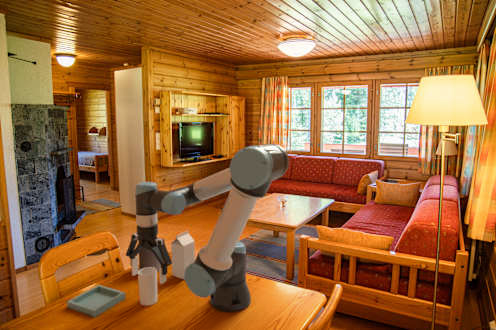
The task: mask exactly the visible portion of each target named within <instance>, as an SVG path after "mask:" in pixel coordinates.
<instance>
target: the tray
mask: <svg viewBox="0 0 496 330" xmlns="http://www.w3.org/2000/svg"><path fill="white" fill-rule="evenodd" d="M125 299H126V293H125V292H124V291H121V290H118V289H115V288H112V287H111V288H110V287H107V286H104V285H101V284H98V285H96V286H94V287H92V288H90V289H88V290H86V291H85V292H83V293H81V294H79V295H77V296H74V297H73V298H71V299H69V300H67V301H66V304H67V309H70V310H73V311H76V312H79V313H81V314H84V315H86V316H90V317H92V318H96V317H98V316H99V315H100V314H103V313H104V312H106V311H107V310H109V309H111V308H112V307H114V306H115V305H117V304H119V303H120V302H122V301H124V300H125Z"/></svg>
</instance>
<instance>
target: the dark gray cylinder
mask: <svg viewBox="0 0 496 330" xmlns="http://www.w3.org/2000/svg"><path fill="white" fill-rule="evenodd" d="M157 239H161V238H159V237H157ZM137 244H139V241H137ZM154 248H156V247H154ZM160 266H161V265H160V263H159V262H158V260H157V258H156V257H155V255H154V253H153V252H151V251H150V250H148V249H144V248H142V249H141V251H140V252H139V253H138V270H140V269H143V268H146V267H153V268H156V269H157V273H158V272H160V270H159V267H160Z"/></svg>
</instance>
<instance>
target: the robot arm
mask: <svg viewBox="0 0 496 330" xmlns="http://www.w3.org/2000/svg"><path fill="white" fill-rule="evenodd" d="M289 166H290V158H289V154H288V152H287V151H286V150H285V148H284V147H282V146H281V145H279V144H277V143H273V142H272V143H271V142H267V143H262V144H259V145H256V144H255V145H254V144H253V145H249V146H245V147H243V148H241V149H239V150H238V151H237V152H236V153H235V154H234V155H233V157H232V158H231V160H230V164H229V167H228V168H225V169H223V170H221V171H218V172H216V173H213V174H211V175H209V176H206V177H204V178H202V179H200V180H197V181H195V182H192V183H191V184H187V185H186V186H185V185H184V186H181V187H178V188H173V189H170V190H161V189H160V190H159V189H158V186H157V182H154V181H144V182H143V181H142V182H139V183H136V184H135V194H134V196H135V216H136V217H135V219H136V221H135V222H136V233H133V234H131V236H130V238H131V239H130V243H129V245H128V248H127V249H126V252H125V256H126V257H129V259H130V267H131V276H133V277H134V276H136V275H138V271H139V256H138V255H139V252H140V251H141V249H142V248H144V249H148V250H150V251H151V252H153V253H154V255H155V257H156V258H157V260H158V262H159V263H160V265H161V266H160V267H159V285H163V284H164V283H165V282H167V274H168V266H172V258H171V257H170V254H169V251H168V249H167V247H166V243H165V238H160V239H157V238H158V234H159V224H158V222H159V221H158V212H160V213H164V214H167V215H173V216H175V215H177V216H178V215H180V214H182V212H183V211H184V210H185V208H187V207H190V206H193V205H195V204H199V203H201V202H203V201H205V200H208V199H211V198H214V197H216V196H218V195H221V194H224V193H226V192H229V191H230V192H229V194H228V196H227V199H226V200H225V203H224V205H223V208H222V210H221V212H220V214H219V217H218V219H217V221H216V222H215V225H214V227H213V230H212V233H211V235H210V237H209V240H208V241H207V243H206V245H203V246H202V247H201V248H200V249H199V251H198V253H197V256H195V261H194V263H191V264H190V265H189V266H188V267H187V268H186V269H185V273H184V278H185V280H184V281H185V283H186V286H187V288H188V289H189V291H191V293H192V294H194V295H195V296H197V297H199V298H207V297H209V298H210V299H209V300H210V305H211V307H212V308H214V309H215V310H216V311H219V312H225V313H234V312H235V313H236V312H239V311H243V310H245V309H246V308H248V307H249V306H250V304H251V300H252V299H251V298H252V297H251V292H250V290H249V286H248V283H247V275H246V274H247V251H246V250H247V249H246V245H245V244H244V243H243V242H242V241H239V240H240V237H241V235H242V233H243V232H244V230H245V227H246V225H247V222H249V219H250V217H251V215H252V212H253V210H254V208H255V206H256V204H257V202H258V200H259V199H262V198H265V196H266V195H267V194H268V193H267V192H268V191H269V189H270V186H271V184H272V182H273V181H276V180H278V179H280V178H281V177H283V176H284V175H285V174H286V173H287V170H289ZM138 242H139V243H138ZM154 247H156V248H154Z"/></svg>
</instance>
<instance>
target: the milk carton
mask: <svg viewBox="0 0 496 330" xmlns="http://www.w3.org/2000/svg"><path fill="white" fill-rule="evenodd" d="M195 247H196V246H195V239H194V238H193V237H192V236H191V234H190V232H189V230H186V231H183V232H181V233H179V234H177V235H176V237H175V239H174V240H173V241H172V242H171V243H170V250H171V251H170V253H171V261H172V264H171V274H172V275H171V276H173V277H176V278H178V279H182V280H184V281H185V278H184V273H185V269H186V268H187V267H188V266H189V265H190V264H191V263H194V261H195V260H196V256H195V255H196V253H195V252H196V251H195V250H196V249H195Z"/></svg>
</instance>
